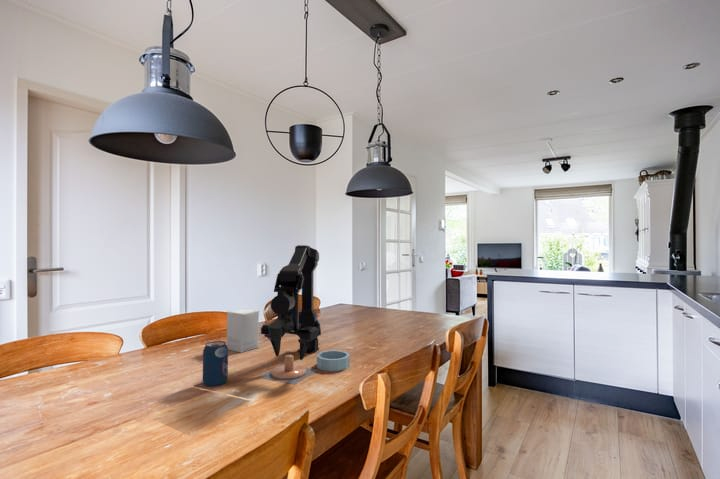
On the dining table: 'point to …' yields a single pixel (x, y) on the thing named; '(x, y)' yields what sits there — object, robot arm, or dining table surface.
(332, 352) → the bowl
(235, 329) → the supplement box
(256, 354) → the dining table surface
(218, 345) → the soda can
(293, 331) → the robot arm
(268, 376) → the mat
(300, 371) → the lid
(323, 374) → the dining table surface
